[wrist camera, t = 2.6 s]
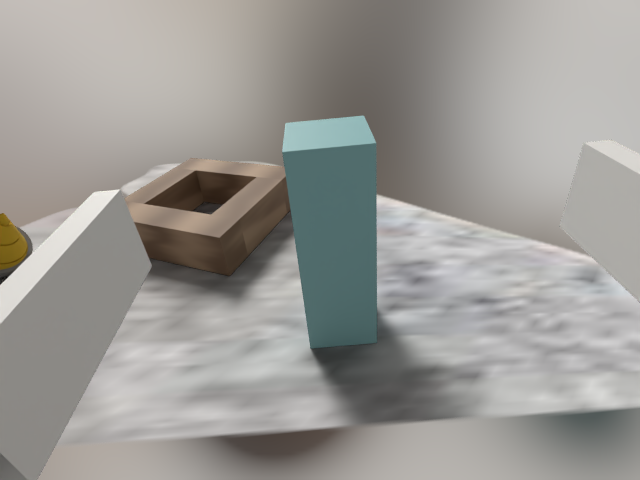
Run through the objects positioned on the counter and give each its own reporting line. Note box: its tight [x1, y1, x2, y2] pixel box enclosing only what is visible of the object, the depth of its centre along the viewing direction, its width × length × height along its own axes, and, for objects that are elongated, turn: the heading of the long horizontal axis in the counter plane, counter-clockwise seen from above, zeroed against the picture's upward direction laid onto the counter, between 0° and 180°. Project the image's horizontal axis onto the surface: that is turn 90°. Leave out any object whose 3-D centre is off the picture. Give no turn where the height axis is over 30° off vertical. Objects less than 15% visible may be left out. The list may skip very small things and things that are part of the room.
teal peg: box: [282, 116, 377, 348], centre depth 24 cm, size 4×4×14 cm
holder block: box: [124, 158, 291, 276], centre depth 40 cm, size 14×14×4 cm
